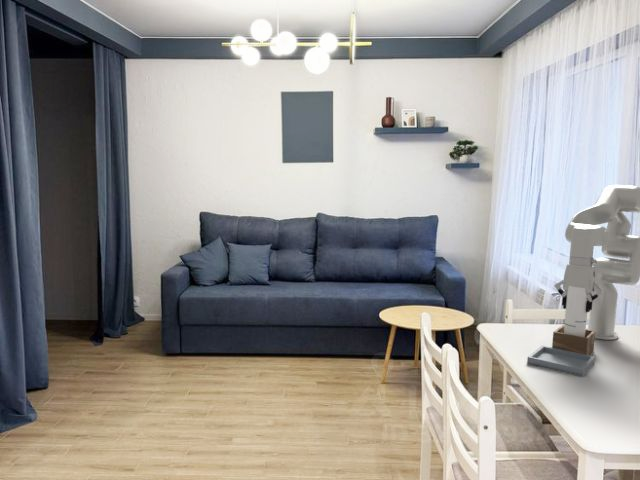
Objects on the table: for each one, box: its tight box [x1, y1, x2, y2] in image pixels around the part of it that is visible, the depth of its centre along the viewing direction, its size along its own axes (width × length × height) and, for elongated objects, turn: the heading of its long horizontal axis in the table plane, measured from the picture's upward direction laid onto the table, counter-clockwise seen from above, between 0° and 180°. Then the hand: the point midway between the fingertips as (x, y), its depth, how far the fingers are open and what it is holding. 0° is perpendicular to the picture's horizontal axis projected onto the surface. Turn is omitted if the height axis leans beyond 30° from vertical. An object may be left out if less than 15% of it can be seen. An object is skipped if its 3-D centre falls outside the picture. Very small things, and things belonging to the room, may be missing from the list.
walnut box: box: [551, 324, 596, 356], centre depth 213 cm, size 12×12×8 cm
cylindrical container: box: [563, 286, 588, 337], centre depth 212 cm, size 7×7×25 cm
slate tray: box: [526, 345, 596, 378], centre depth 202 cm, size 16×18×2 cm
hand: (576, 309), depth 211 cm, fingers closed on cylindrical container, 7 cm apart
